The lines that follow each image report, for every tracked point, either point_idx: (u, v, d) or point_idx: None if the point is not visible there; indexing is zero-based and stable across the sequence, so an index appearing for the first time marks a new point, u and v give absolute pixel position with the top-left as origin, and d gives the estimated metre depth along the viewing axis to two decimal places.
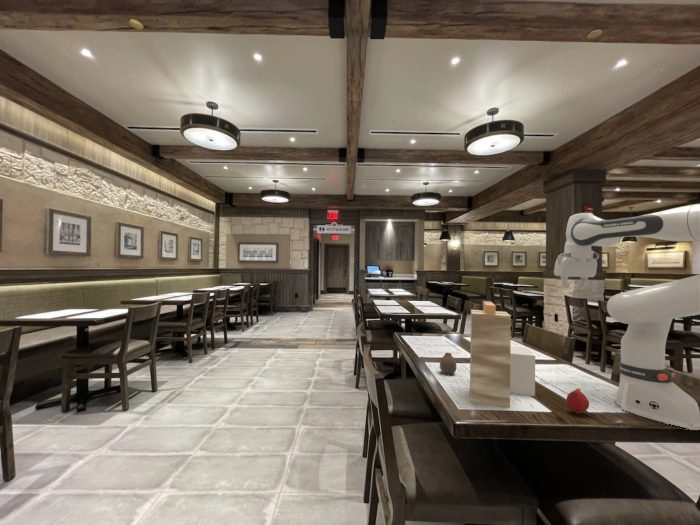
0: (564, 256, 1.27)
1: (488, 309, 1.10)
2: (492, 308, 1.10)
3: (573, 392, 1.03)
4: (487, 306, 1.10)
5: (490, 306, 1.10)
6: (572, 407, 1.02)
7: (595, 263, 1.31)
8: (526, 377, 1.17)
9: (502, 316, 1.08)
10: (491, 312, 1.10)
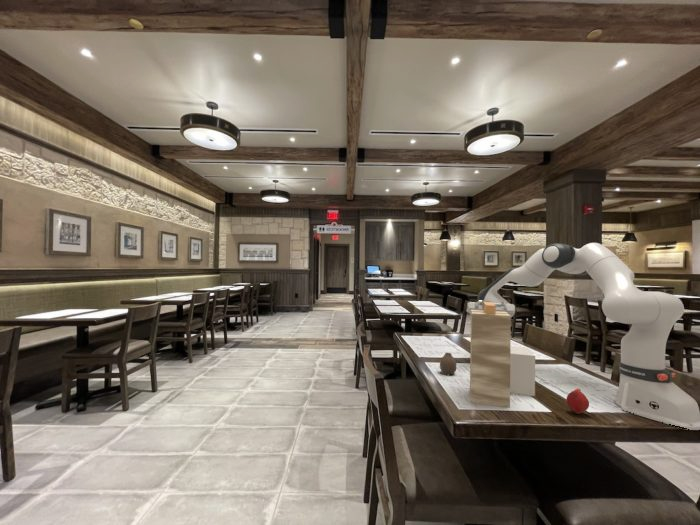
0: None
1: (488, 309, 1.10)
2: (492, 308, 1.10)
3: (573, 392, 1.03)
4: (487, 306, 1.10)
5: (490, 306, 1.10)
6: (572, 407, 1.02)
7: None
8: (526, 377, 1.17)
9: (502, 316, 1.08)
10: (491, 312, 1.10)
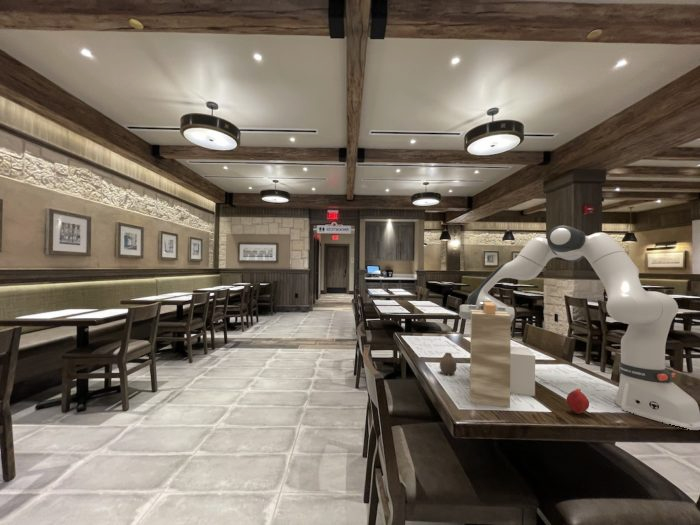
0: None
1: (488, 309, 1.10)
2: (492, 308, 1.10)
3: (573, 392, 1.03)
4: (487, 306, 1.10)
5: (490, 306, 1.10)
6: (572, 407, 1.02)
7: None
8: (526, 377, 1.17)
9: (502, 316, 1.08)
10: (491, 312, 1.10)
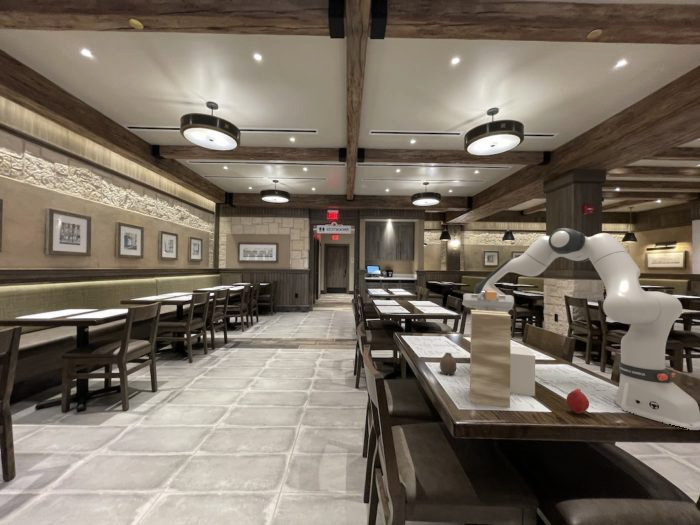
0: None
1: (490, 295, 1.21)
2: (493, 294, 1.21)
3: (573, 392, 1.03)
4: (489, 293, 1.21)
5: (491, 293, 1.21)
6: (572, 407, 1.02)
7: None
8: (526, 377, 1.17)
9: (502, 316, 1.08)
10: (492, 298, 1.21)
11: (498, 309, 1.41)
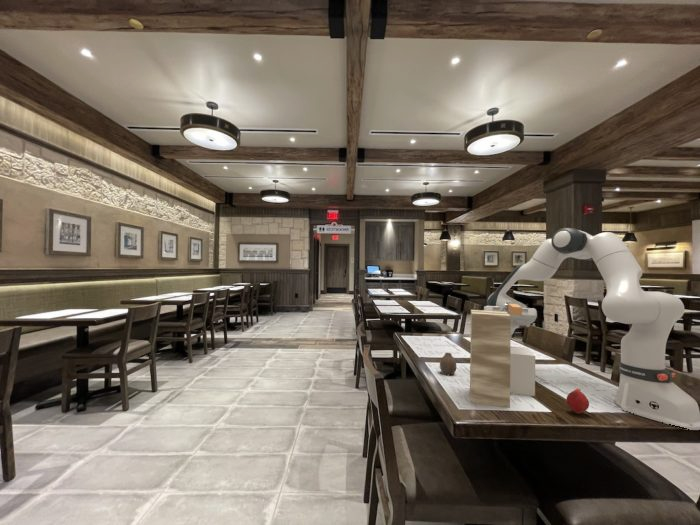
0: None
1: (515, 310, 1.18)
2: (519, 310, 1.18)
3: (573, 392, 1.03)
4: (514, 308, 1.18)
5: (517, 308, 1.18)
6: (572, 407, 1.02)
7: None
8: (526, 377, 1.17)
9: (502, 316, 1.08)
10: (518, 313, 1.18)
11: (520, 322, 1.38)
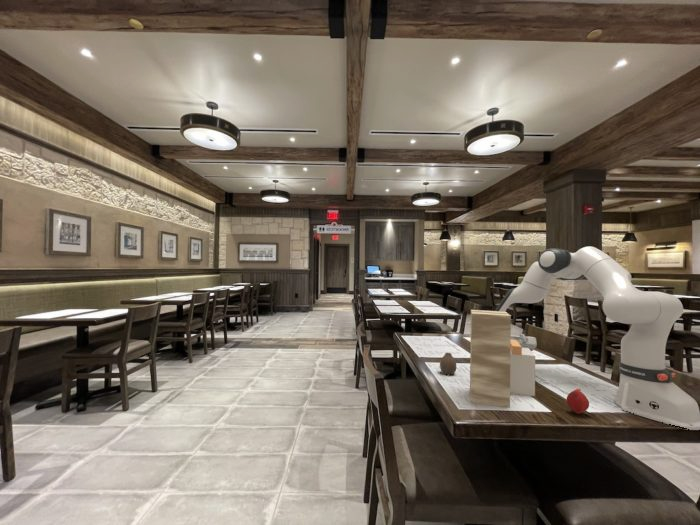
0: None
1: (514, 350, 1.18)
2: (518, 349, 1.18)
3: (573, 392, 1.03)
4: (513, 347, 1.18)
5: (516, 347, 1.18)
6: (572, 407, 1.02)
7: None
8: (526, 377, 1.17)
9: (502, 316, 1.08)
10: (517, 353, 1.18)
11: None
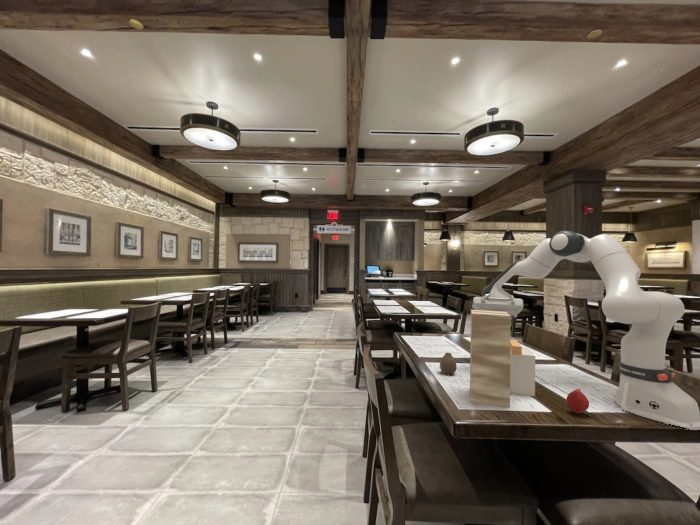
0: None
1: (514, 350, 1.18)
2: (518, 349, 1.18)
3: (573, 392, 1.03)
4: (513, 347, 1.18)
5: (516, 347, 1.18)
6: (572, 407, 1.02)
7: None
8: (526, 377, 1.17)
9: (502, 316, 1.08)
10: (517, 353, 1.18)
11: (507, 312, 1.44)
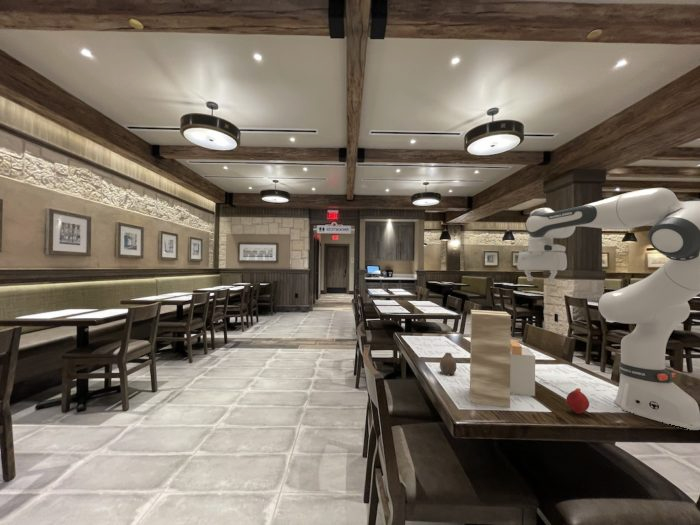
0: (523, 252, 1.41)
1: (514, 350, 1.18)
2: (518, 349, 1.18)
3: (573, 392, 1.03)
4: (513, 347, 1.18)
5: (516, 347, 1.18)
6: (572, 407, 1.02)
7: (555, 255, 1.26)
8: (526, 377, 1.17)
9: (502, 316, 1.08)
10: (517, 353, 1.18)
11: None
